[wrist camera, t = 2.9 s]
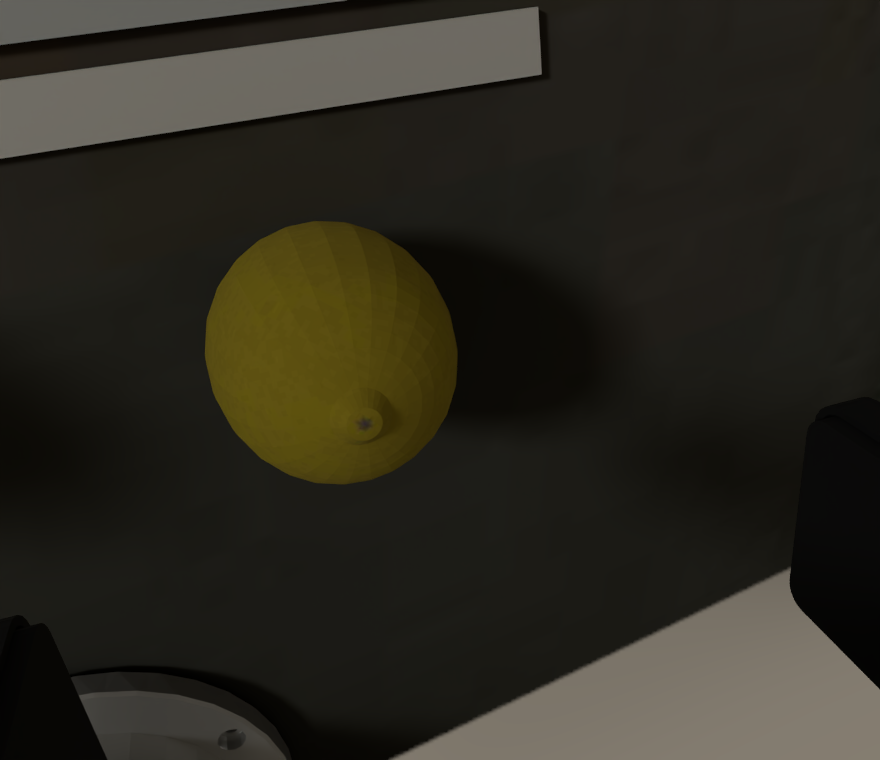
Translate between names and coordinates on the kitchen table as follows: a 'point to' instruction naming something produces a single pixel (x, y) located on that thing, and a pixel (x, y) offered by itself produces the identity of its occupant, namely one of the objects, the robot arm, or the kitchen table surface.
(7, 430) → the kitchen table surface
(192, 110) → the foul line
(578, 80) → the kitchen table surface
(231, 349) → the lemon
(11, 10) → the mat
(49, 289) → the kitchen table surface
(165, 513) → the kitchen table surface
